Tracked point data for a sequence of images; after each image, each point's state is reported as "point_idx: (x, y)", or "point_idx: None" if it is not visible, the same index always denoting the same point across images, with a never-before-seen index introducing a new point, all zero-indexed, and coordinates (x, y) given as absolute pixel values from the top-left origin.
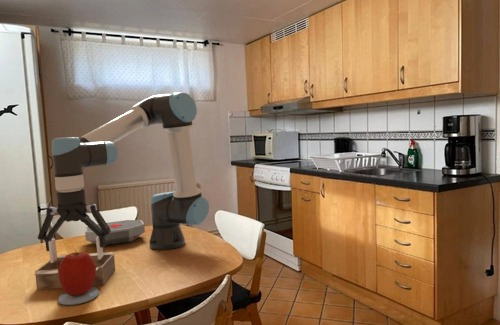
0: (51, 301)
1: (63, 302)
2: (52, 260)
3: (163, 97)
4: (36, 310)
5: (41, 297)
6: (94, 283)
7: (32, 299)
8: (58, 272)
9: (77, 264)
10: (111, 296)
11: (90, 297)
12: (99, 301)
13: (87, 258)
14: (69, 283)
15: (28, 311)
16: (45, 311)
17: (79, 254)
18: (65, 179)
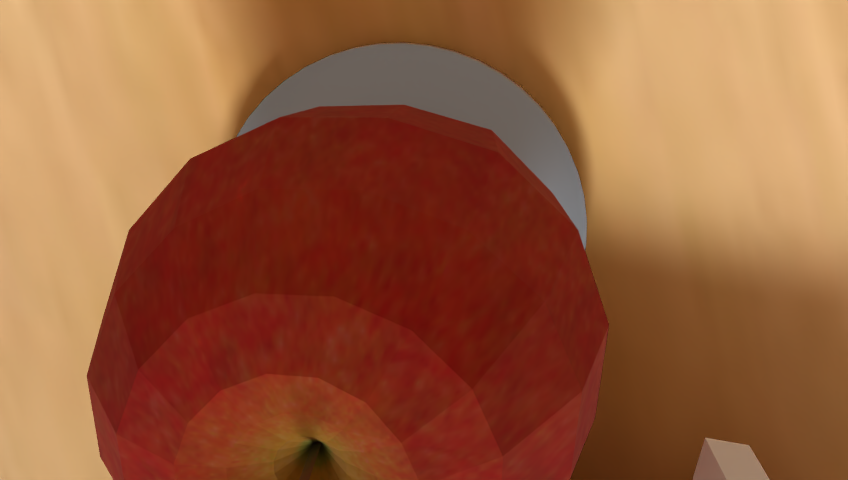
0: (652, 227)
1: (511, 86)
2: (725, 462)
3: None
4: (758, 62)
5: (766, 351)
6: None
7: (844, 334)
8: (584, 251)
9: (251, 199)
10: (94, 151)
11: (262, 120)
12: (181, 71)
13: (117, 361)
14: (423, 110)
15: (833, 64)
16: (664, 7)
17: None
18: None
